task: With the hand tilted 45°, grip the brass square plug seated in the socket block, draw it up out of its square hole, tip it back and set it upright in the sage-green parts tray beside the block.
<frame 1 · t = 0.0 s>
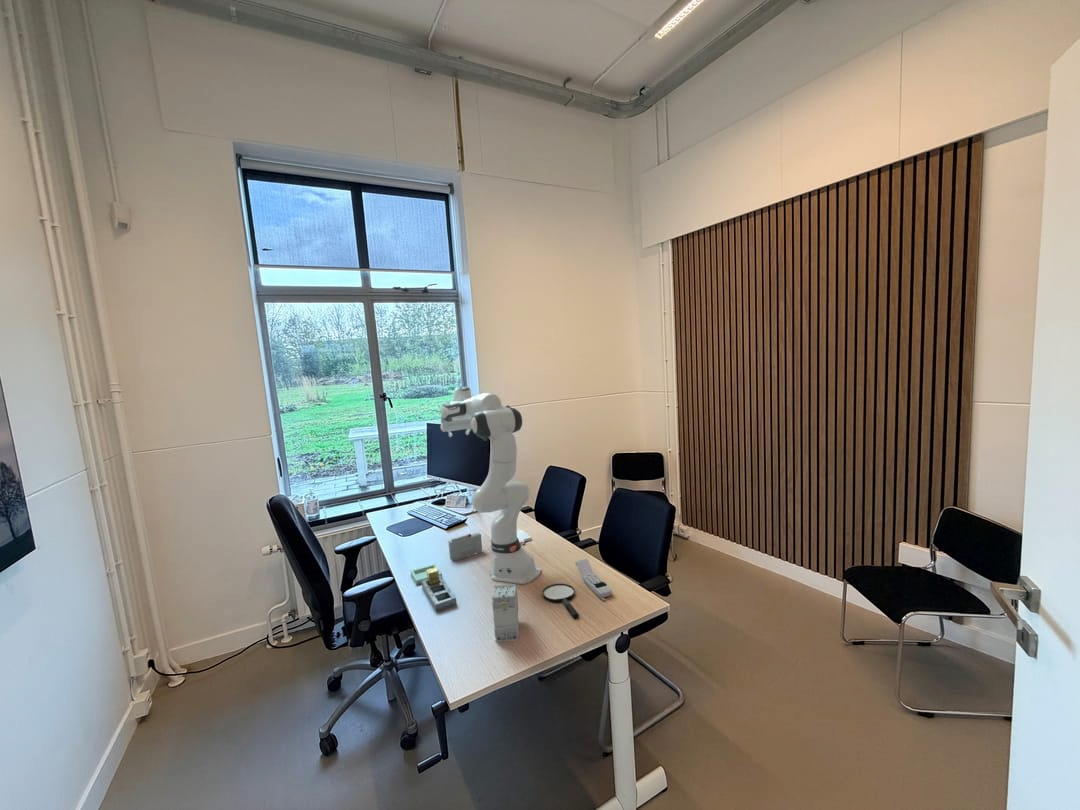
hand: (458, 435, 234), 54 cm above the table, tool tilted 30°, fingers open, 8 cm apart
socket block: (438, 596, 172), on the table
parts tray: (426, 576, 189), on the table
magnifying glass: (564, 603, 162), on the table
brass plug: (434, 588, 178), resting in socket block
circuit breaker: (507, 628, 148), on the table
cassette player: (466, 555, 208), on the table
mounting plate: (515, 540, 224), on the table
mobile phone: (594, 586, 172), on the table
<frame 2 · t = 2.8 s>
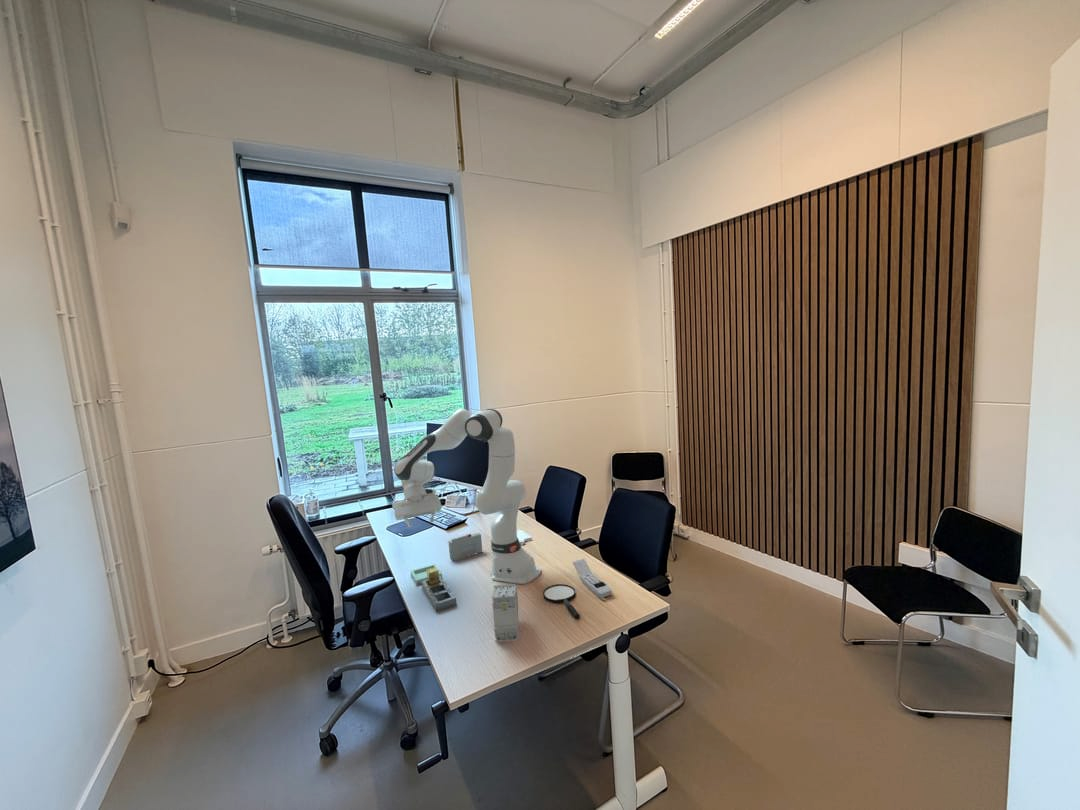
hand: (421, 524, 188), 24 cm above the table, tool tilted 45°, fingers open, 8 cm apart
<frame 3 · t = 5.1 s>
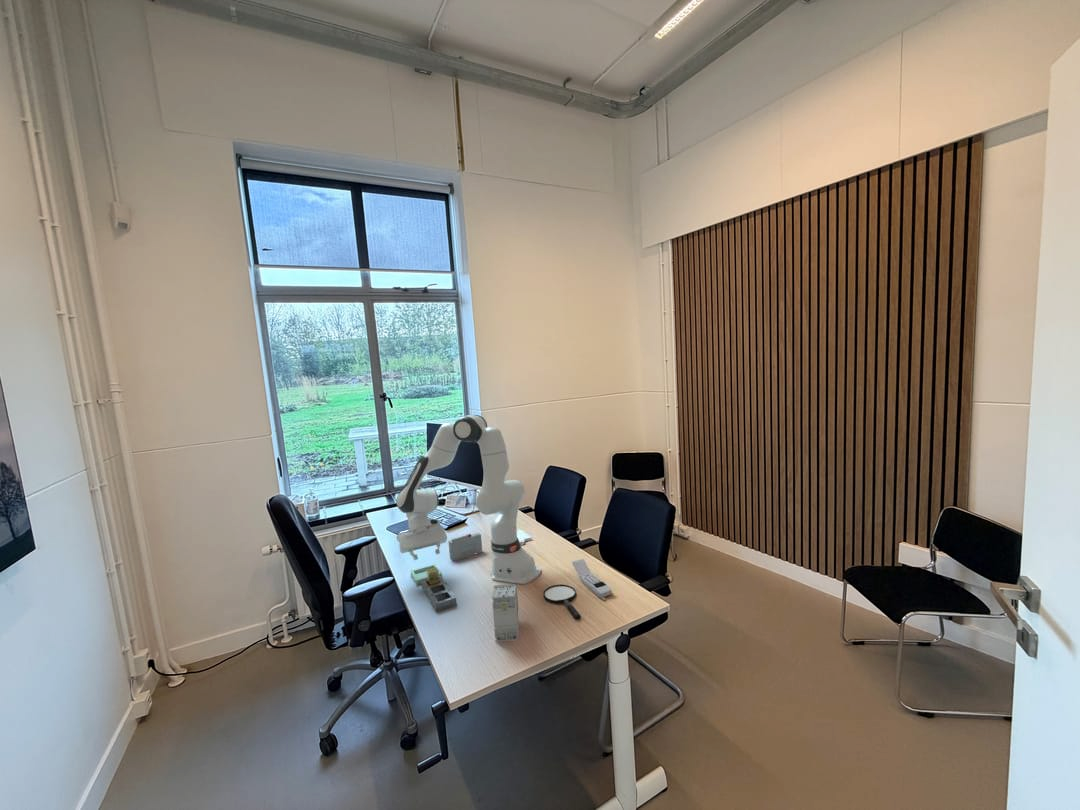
hand: (427, 556, 184), 11 cm above the table, tool tilted 45°, fingers open, 8 cm apart
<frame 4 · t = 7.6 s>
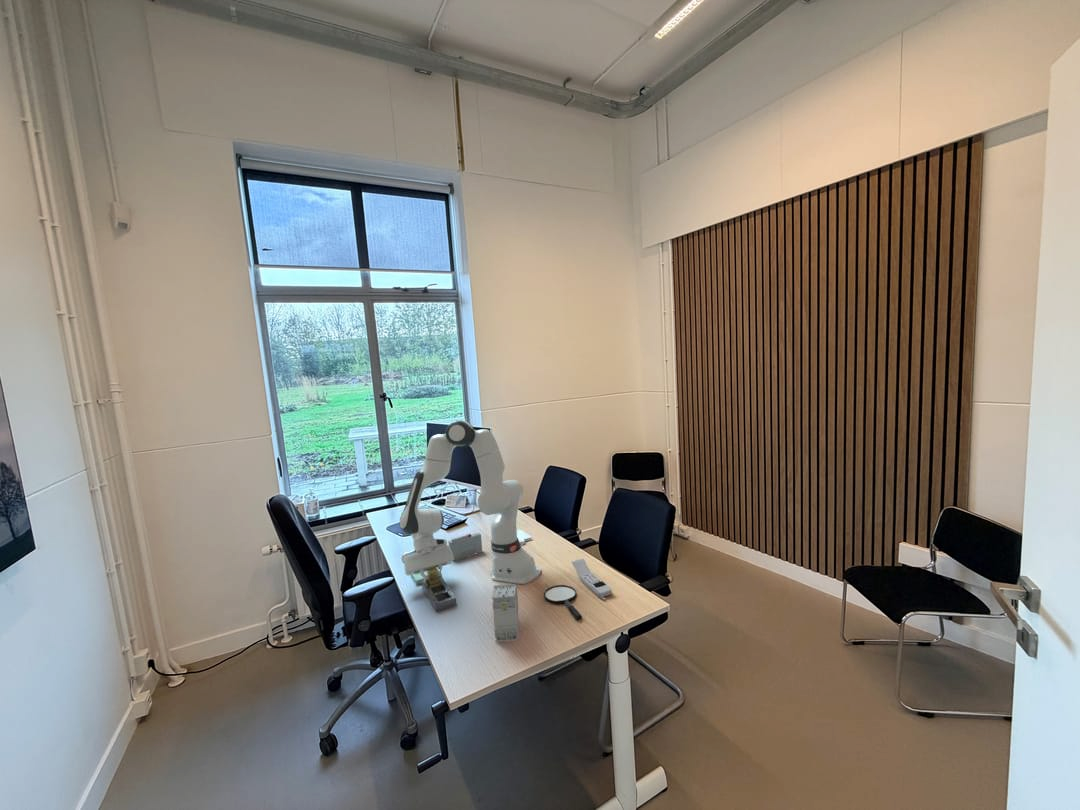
hand: (433, 578, 177), 5 cm above the table, tool tilted 45°, fingers closed on brass plug, 4 cm apart
brass plug: (434, 588, 178), resting in socket block, touching gripper
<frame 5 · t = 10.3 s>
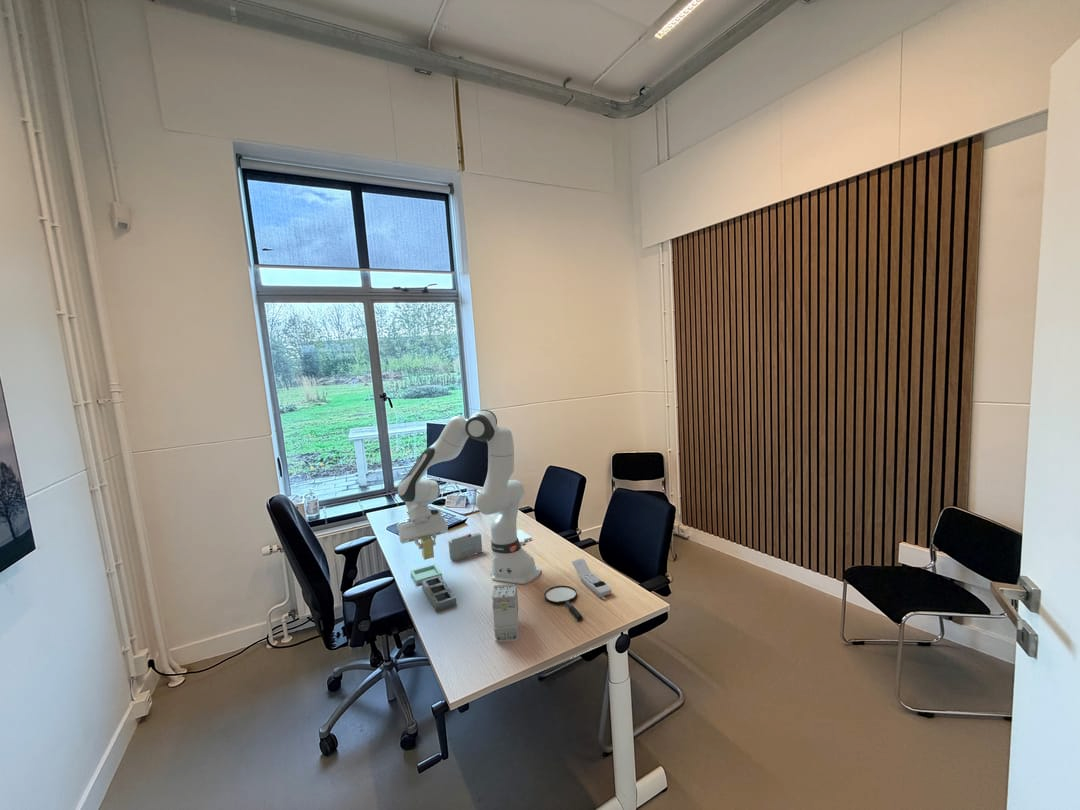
hand: (427, 546, 181), 16 cm above the table, tool tilted 45°, fingers closed on brass plug, 4 cm apart
brass plug: (428, 556, 182), point 12 cm above the table, touching gripper
when the fingers open (7 cm above the table, at t = 12.9 s): brass plug drops 1 cm, resting on parts tray.
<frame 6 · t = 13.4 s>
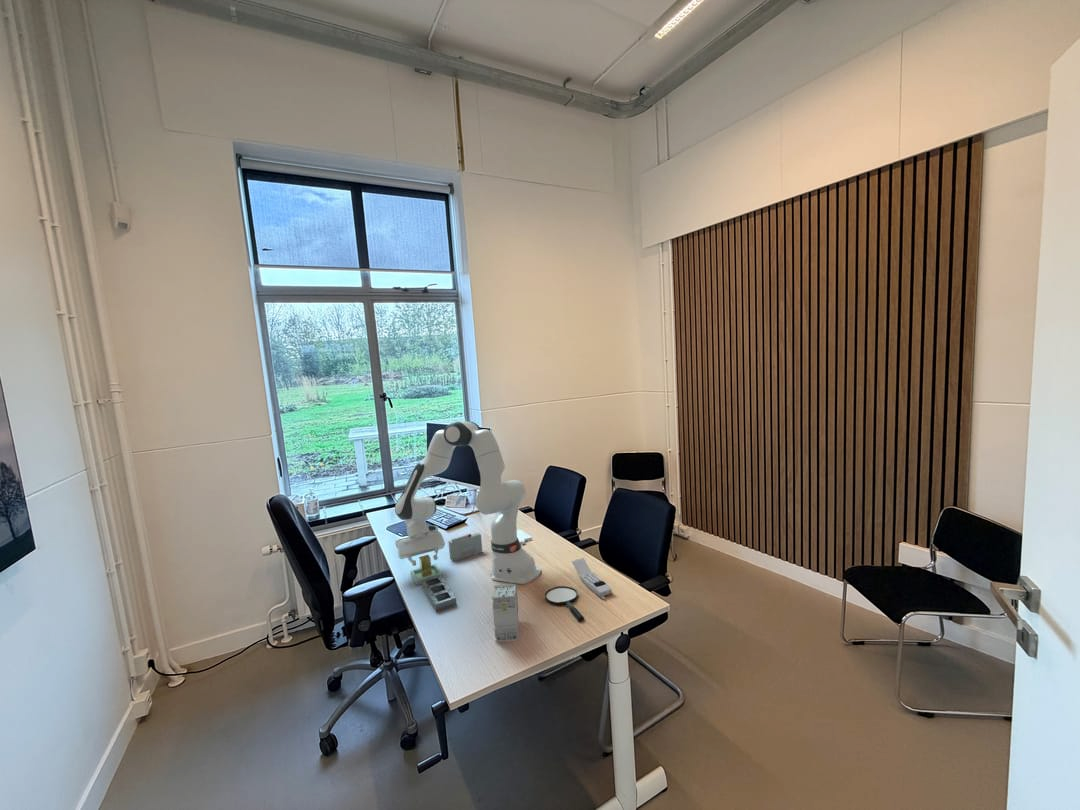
hand: (425, 562, 188), 7 cm above the table, tool tilted 45°, fingers open, 8 cm apart
brass plug: (426, 574, 189), point 1 cm above the table, touching parts tray
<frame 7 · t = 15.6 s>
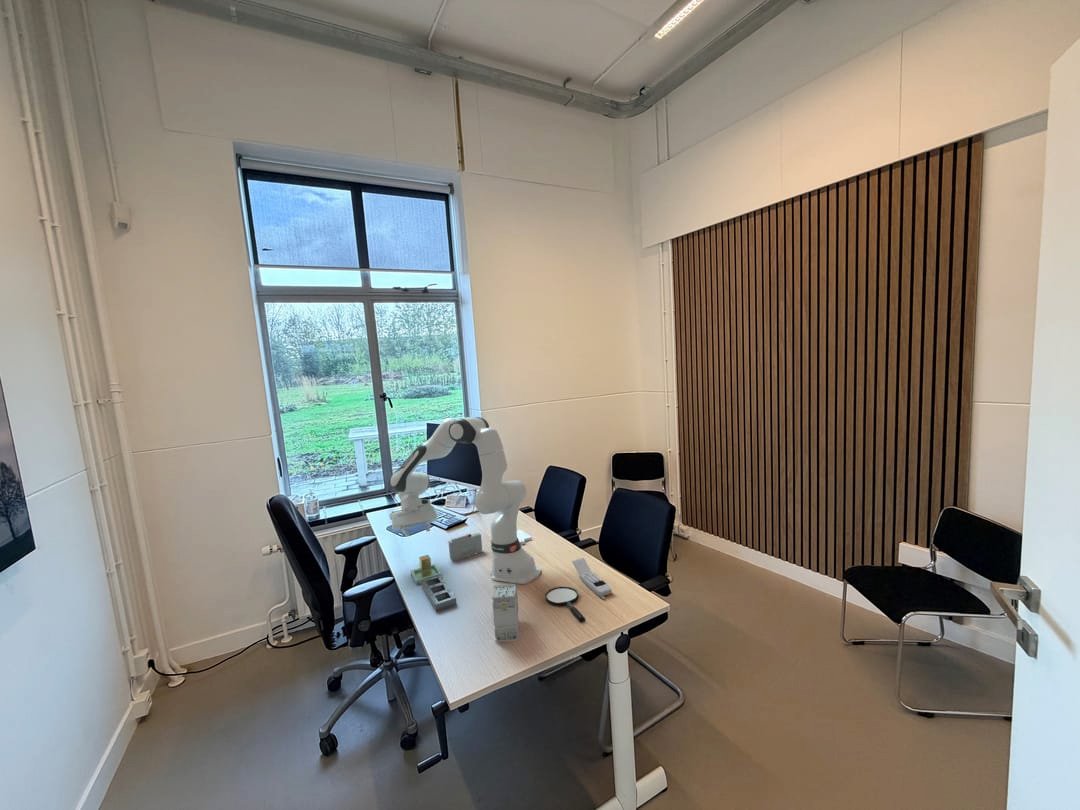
hand: (418, 533, 196), 17 cm above the table, tool tilted 45°, fingers open, 8 cm apart
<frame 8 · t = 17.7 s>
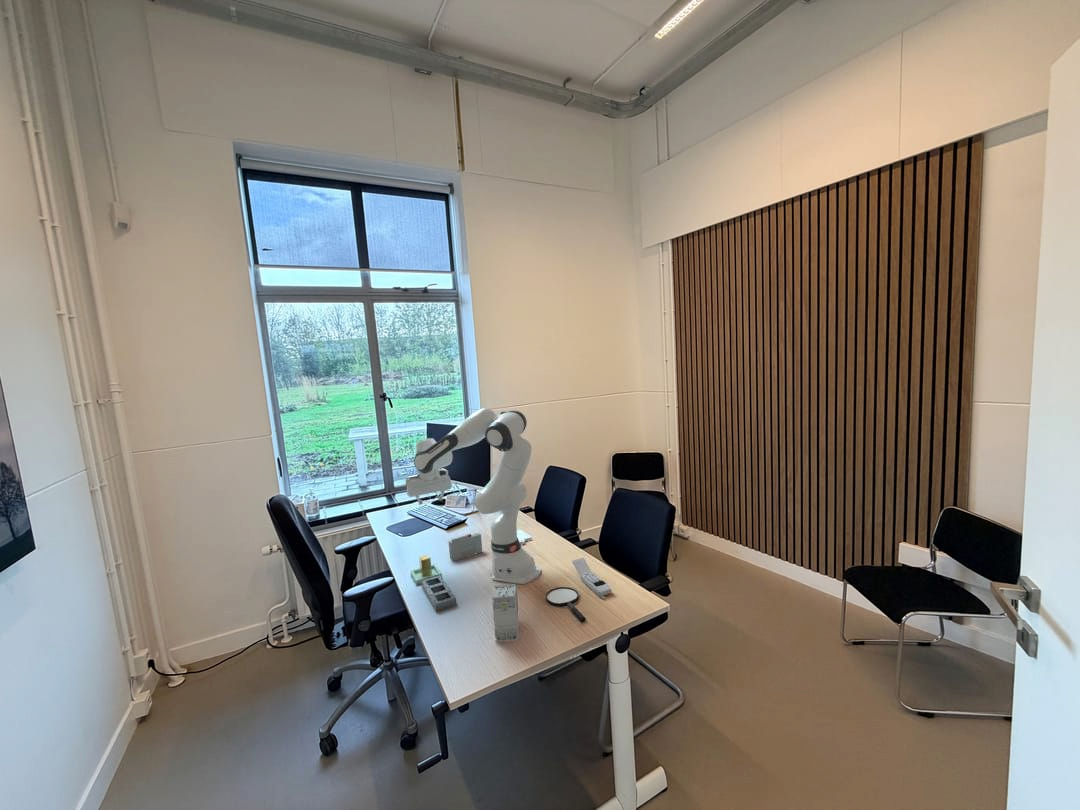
hand: (430, 502, 200), 29 cm above the table, tool pointing down, fingers open, 8 cm apart
at the end: brass plug 0.0 cm off-centre on the parts tray, point 0.6 cm above the parts tray's base; brass plug tilted 0°; the gripper is holding nothing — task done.
